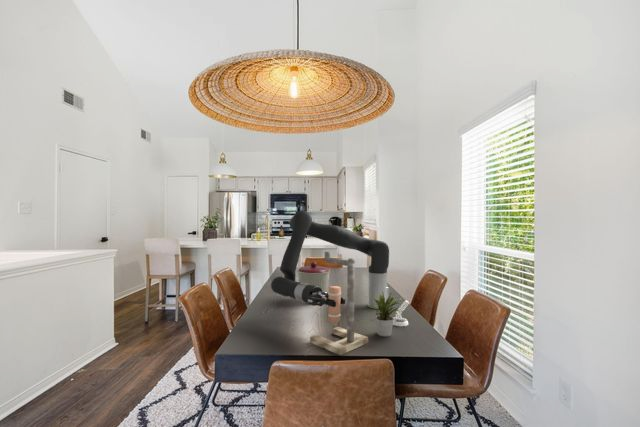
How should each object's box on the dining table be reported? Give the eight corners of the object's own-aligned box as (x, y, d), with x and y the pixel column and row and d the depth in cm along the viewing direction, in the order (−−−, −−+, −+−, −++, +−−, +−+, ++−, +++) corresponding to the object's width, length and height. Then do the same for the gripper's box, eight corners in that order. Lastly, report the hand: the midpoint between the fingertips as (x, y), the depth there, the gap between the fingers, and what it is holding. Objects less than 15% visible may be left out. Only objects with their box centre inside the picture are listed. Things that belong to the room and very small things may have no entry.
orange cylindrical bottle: (336, 317, 118) (336, 285, 118) (342, 321, 114) (343, 288, 114) (325, 319, 115) (326, 286, 116) (332, 323, 111) (332, 289, 112)
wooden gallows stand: (310, 342, 113) (310, 253, 113) (338, 331, 123) (338, 250, 124) (340, 355, 103) (340, 257, 103) (368, 342, 113) (368, 253, 113)
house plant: (396, 345, 111) (396, 299, 111) (360, 337, 118) (360, 293, 118) (407, 333, 123) (408, 291, 123) (374, 326, 130) (374, 286, 130)
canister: (336, 299, 171) (336, 261, 171) (318, 307, 156) (318, 265, 156) (309, 295, 181) (309, 258, 181) (289, 302, 165) (289, 262, 165)
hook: (422, 314, 130) (410, 305, 129) (404, 336, 131) (391, 327, 130) (415, 305, 137) (403, 297, 136) (398, 326, 139) (386, 318, 137)
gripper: (294, 286, 120) (326, 295, 108) (321, 281, 130) (353, 289, 118) (294, 306, 120) (326, 317, 108) (320, 300, 130) (352, 309, 118)
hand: (339, 302), depth 113 cm, fingers closed on orange cylindrical bottle, 4 cm apart
